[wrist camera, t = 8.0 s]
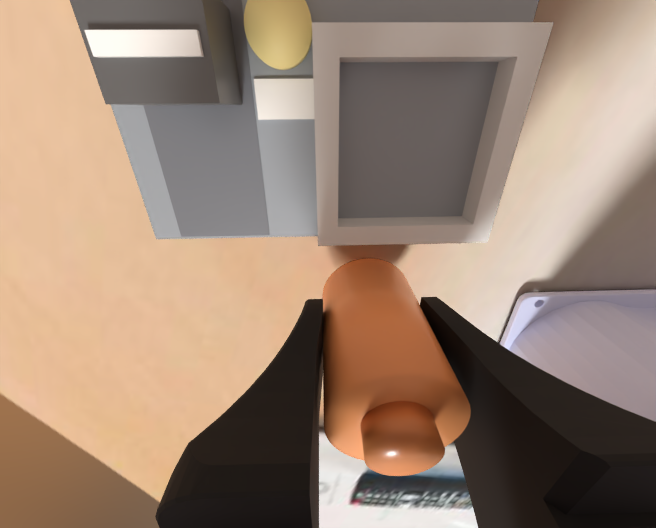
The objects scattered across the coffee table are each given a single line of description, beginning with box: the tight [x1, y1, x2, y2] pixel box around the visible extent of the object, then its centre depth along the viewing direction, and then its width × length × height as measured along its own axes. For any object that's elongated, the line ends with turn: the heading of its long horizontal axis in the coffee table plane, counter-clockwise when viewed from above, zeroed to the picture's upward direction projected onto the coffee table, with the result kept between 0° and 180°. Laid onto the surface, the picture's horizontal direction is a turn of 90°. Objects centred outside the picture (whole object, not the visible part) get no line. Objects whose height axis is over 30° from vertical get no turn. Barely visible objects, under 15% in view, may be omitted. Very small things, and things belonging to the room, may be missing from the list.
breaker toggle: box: [70, 0, 242, 106], centre depth 8 cm, size 3×2×3 cm
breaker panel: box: [111, 0, 554, 246], centre depth 10 cm, size 14×8×2 cm, turn 90°
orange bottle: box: [323, 258, 471, 476], centre depth 10 cm, size 4×4×7 cm
